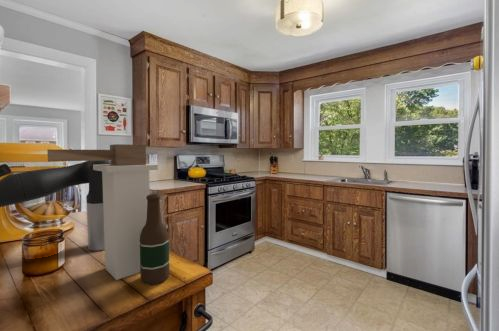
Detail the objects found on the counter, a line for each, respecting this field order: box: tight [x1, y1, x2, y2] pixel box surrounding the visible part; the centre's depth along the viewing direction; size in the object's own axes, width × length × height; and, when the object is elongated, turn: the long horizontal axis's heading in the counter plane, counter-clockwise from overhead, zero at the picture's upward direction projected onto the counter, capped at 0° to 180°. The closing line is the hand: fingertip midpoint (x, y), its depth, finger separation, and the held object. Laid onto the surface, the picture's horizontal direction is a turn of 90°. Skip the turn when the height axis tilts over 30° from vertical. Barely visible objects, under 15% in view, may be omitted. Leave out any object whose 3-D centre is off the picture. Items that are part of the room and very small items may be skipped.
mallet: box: [47, 143, 147, 166], centre depth 72 cm, size 8×23×6 cm, turn 131°
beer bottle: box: [139, 193, 170, 286], centre depth 72 cm, size 8×8×24 cm
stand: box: [93, 163, 159, 281], centre depth 78 cm, size 13×14×32 cm
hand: (9, 167), depth 57 cm, fingers closed
